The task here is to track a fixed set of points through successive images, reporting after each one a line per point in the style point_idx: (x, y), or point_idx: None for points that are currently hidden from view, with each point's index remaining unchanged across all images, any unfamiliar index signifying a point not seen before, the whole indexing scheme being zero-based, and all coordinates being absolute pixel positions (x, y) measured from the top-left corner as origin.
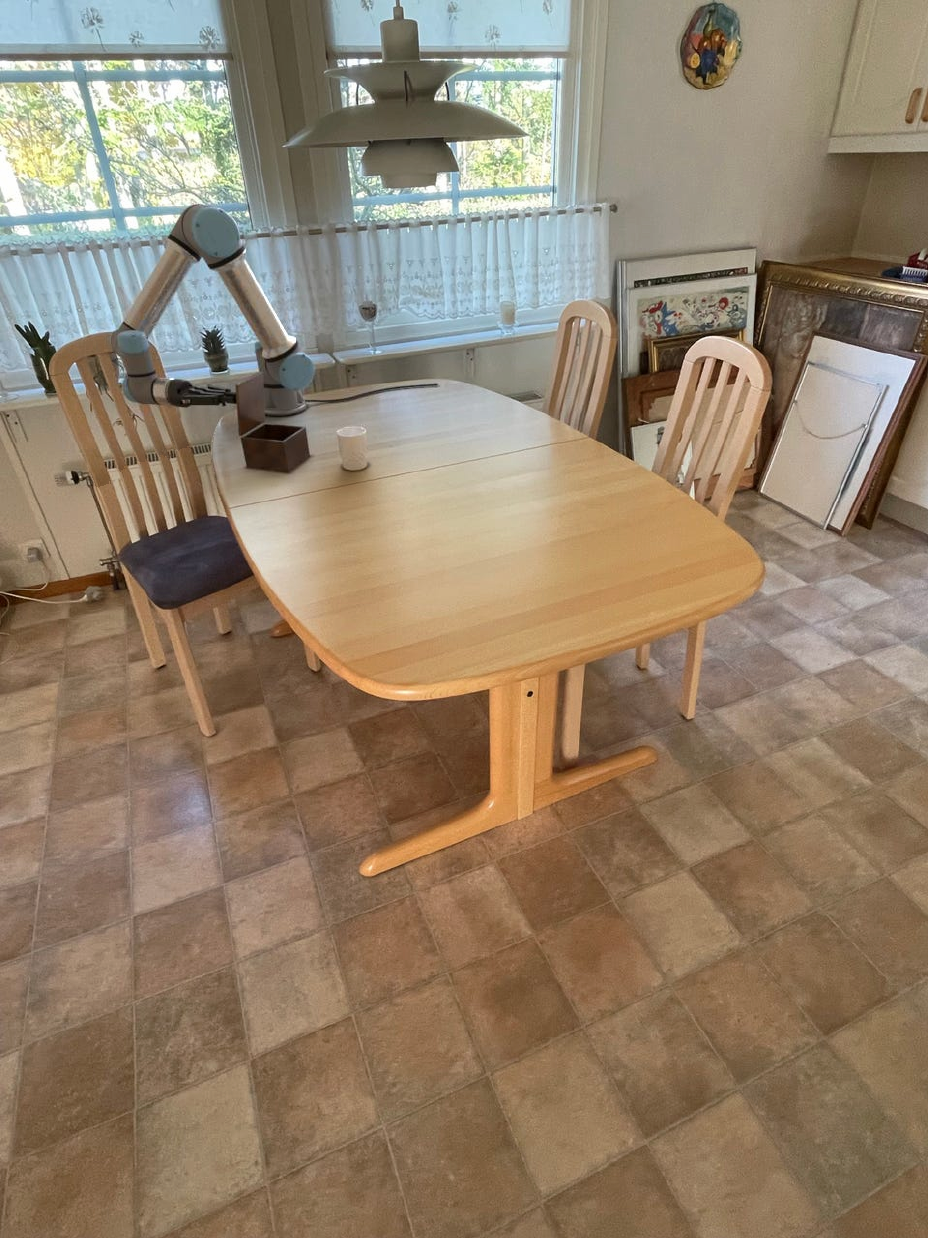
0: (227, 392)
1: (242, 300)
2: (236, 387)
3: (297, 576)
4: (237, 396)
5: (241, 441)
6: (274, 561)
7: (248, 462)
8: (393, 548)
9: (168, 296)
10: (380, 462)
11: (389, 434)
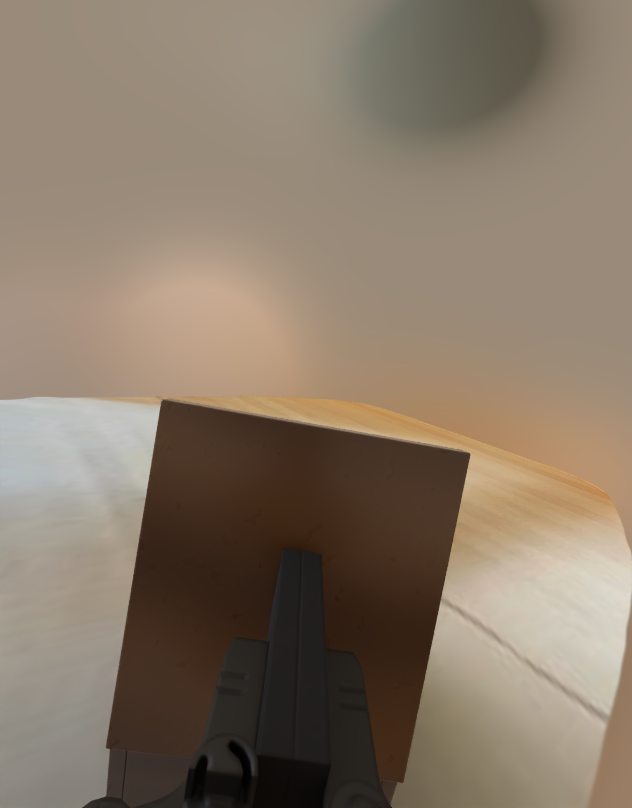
0: (291, 735)
1: None
2: (463, 472)
3: (592, 540)
4: (451, 526)
5: (393, 793)
6: (607, 566)
7: None
8: (465, 487)
9: None
10: None
11: (50, 504)
